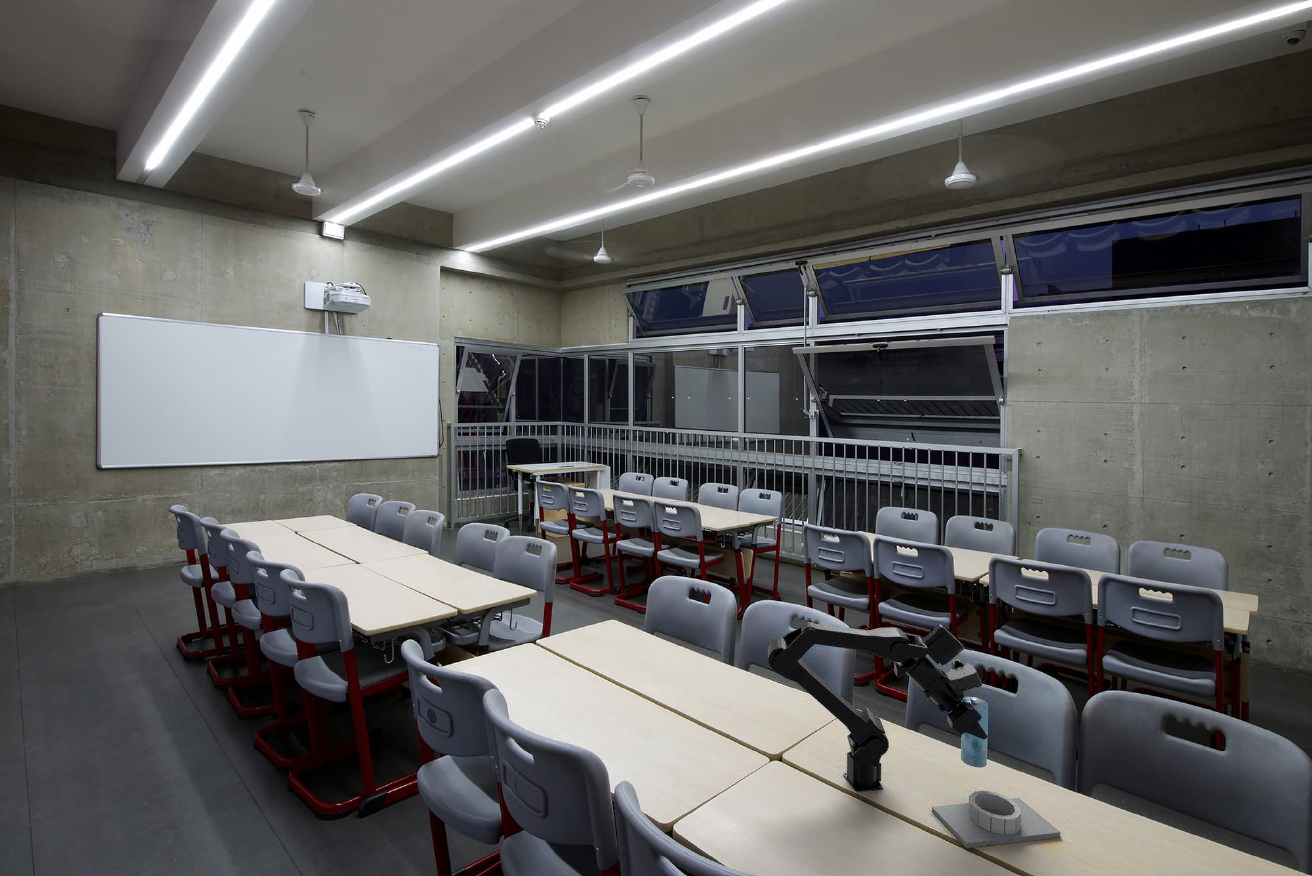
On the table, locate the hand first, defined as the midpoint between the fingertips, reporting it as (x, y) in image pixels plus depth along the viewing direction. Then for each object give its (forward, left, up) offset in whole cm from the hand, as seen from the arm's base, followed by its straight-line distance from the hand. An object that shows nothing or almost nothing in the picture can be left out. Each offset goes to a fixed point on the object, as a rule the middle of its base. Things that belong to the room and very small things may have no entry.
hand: (981, 731), depth 134 cm
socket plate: (-4, -10, -13) cm, 17 cm away
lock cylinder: (-1, 0, -7) cm, 7 cm away
